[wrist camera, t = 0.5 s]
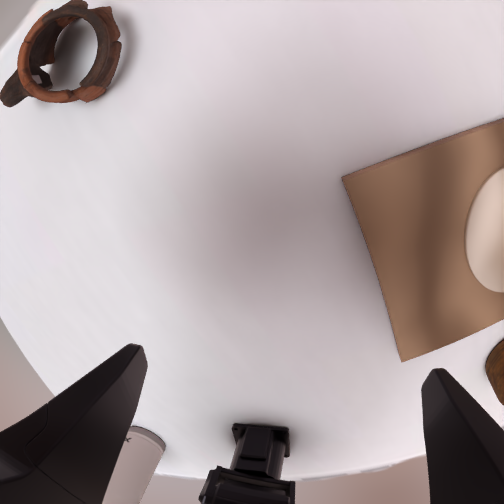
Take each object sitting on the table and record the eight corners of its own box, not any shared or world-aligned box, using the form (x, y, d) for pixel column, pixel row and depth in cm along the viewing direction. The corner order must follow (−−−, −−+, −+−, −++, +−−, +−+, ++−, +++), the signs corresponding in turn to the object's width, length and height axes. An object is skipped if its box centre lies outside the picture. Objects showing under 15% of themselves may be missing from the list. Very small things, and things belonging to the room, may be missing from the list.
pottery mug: (103, -12, 17) (82, -30, 11) (151, 59, 23) (145, 65, 17) (6, 68, 18) (-37, 83, 12) (53, 133, 24) (23, 165, 18)
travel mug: (124, 419, 37) (61, 523, 19) (165, 436, 36) (110, 550, 18) (128, 438, 40) (74, 533, 21) (166, 454, 39) (118, 555, 21)
